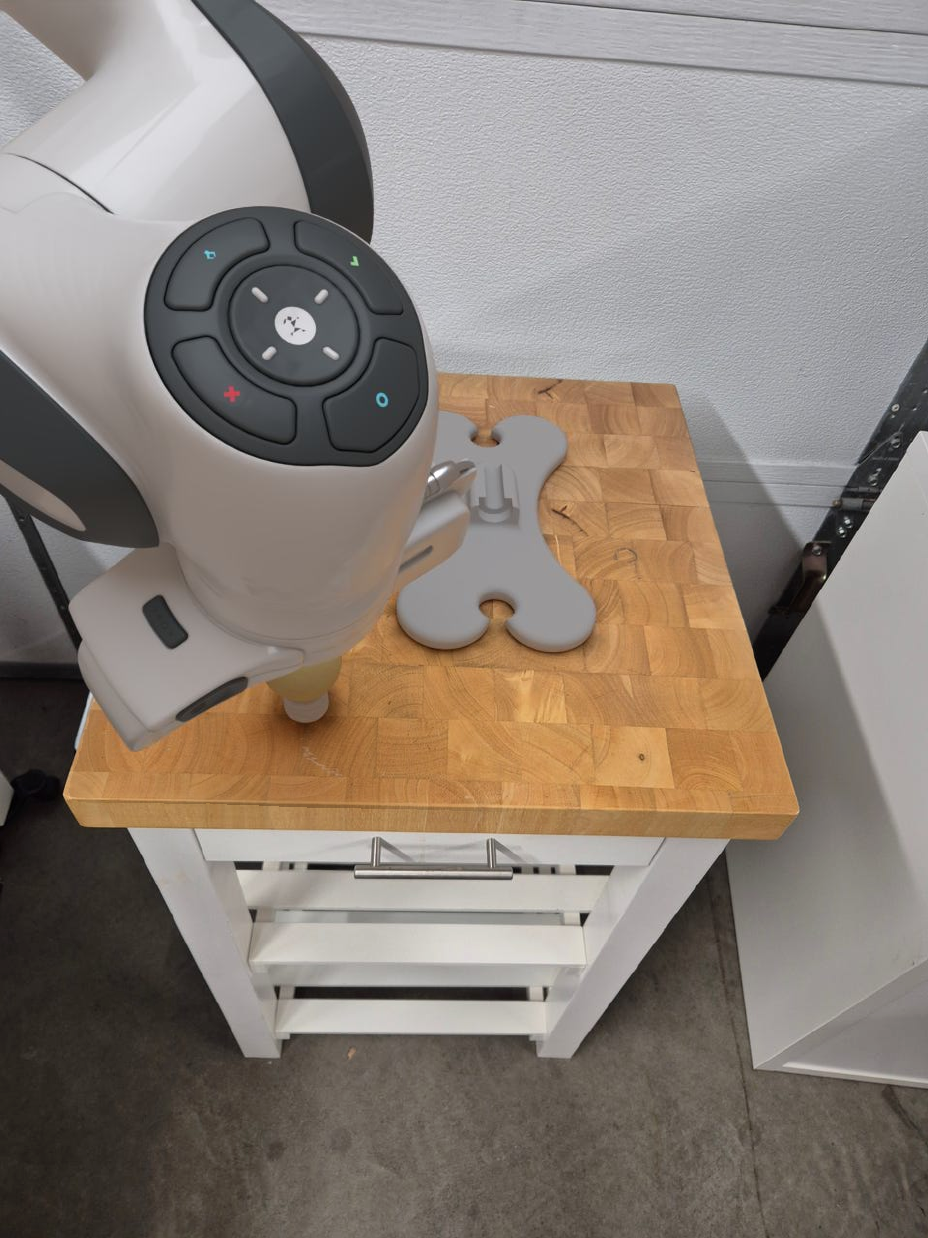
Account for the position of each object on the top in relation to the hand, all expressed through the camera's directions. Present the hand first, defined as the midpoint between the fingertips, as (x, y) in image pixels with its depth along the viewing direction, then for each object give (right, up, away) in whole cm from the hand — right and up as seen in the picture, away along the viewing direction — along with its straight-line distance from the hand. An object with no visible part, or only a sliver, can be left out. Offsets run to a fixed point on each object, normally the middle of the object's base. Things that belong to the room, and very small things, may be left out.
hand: (291, 643), depth 48 cm
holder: (+13, +11, +39) cm, 42 cm away
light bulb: (-3, -6, +23) cm, 24 cm away
